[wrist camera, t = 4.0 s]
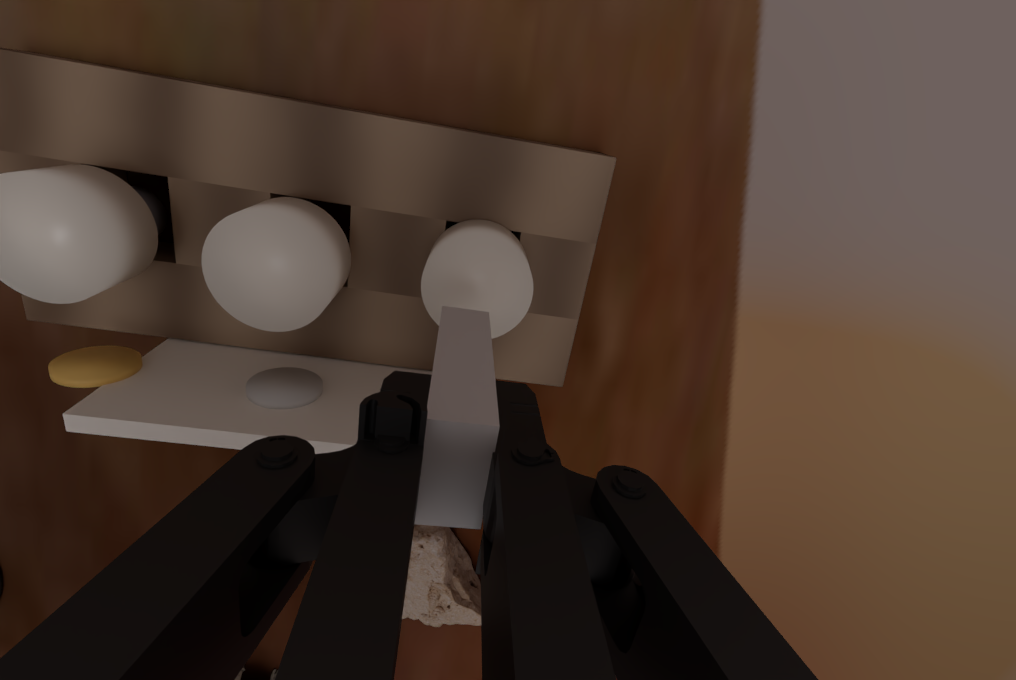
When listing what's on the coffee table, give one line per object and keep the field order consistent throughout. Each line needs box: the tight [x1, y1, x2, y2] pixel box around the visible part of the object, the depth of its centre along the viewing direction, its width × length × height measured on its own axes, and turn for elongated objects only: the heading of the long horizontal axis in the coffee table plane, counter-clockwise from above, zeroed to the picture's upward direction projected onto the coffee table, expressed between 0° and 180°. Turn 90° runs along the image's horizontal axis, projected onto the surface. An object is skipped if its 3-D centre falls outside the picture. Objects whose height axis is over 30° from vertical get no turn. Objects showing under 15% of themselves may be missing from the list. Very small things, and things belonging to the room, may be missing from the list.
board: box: [0, 48, 617, 387], centre depth 25 cm, size 27×12×3 cm, turn 81°
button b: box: [202, 197, 351, 332], centre depth 22 cm, size 5×5×6 cm
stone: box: [402, 524, 481, 627], centre depth 34 cm, size 9×11×5 cm
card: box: [48, 338, 432, 454], centre depth 25 cm, size 19×1×10 cm, turn 81°
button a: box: [0, 164, 167, 304], centre depth 21 cm, size 5×5×6 cm
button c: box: [421, 219, 533, 339], centre depth 24 cm, size 5×5×6 cm
